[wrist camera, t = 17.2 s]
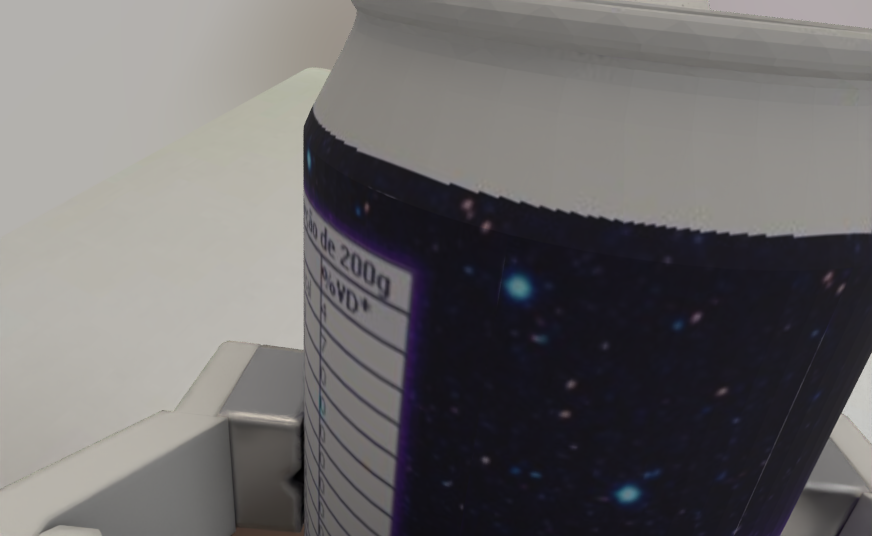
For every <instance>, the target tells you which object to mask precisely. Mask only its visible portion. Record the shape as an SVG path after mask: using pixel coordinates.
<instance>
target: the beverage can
mask: <svg viewBox="0 0 872 536" xmlns="http://www.w3.org/2000/svg"><path fill="white" fill-rule="evenodd" d="M351 1H352V3H353V4H354V6H355V8H356V9H357V16H356V19H355V22H354V26H353V28H352V30H351V32H350V35H349V37H348V39H347V41H346V43H345V46H344V48H343V50H342V52H341V53H340V55H339V57H338V59H337V61H336V63H335V65H334V67H333V69H332V71H331V72H330V74H329V76H328V78H327V80H326V82H325V84H324V86H323V88H322V90H321V91H320V93H319V95H318V97H317V99H316V101H315V103H314V105H313V107H312V109H311V111H310V113H309V115H308V118H307V120H306V123H305V125H304V536H780V535H781V533H782V531H783V529H784V527H785V525H786V523H787V521H788V519H789V517H790V515H791V513H792V511H793V509H794V507H795V505H796V503H797V501H798V499H799V497H800V495H801V493H802V491H803V489H804V487H805V485H806V483H807V481H808V479H809V477H810V475H811V473H812V471H813V469H814V467H815V465H816V463H817V461H818V459H819V457H820V455H821V453H822V451H823V449H824V447H825V445H826V443H827V441H828V439H829V437H830V435H831V433H832V431H833V429H834V427H835V425H836V423H837V421H838V419H839V417H840V415H841V413H842V411H843V409H844V407H845V405H846V403H847V401H848V399H849V397H850V395H851V393H852V391H853V389H854V387H855V385H856V383H857V381H858V379H859V377H860V375H861V373H862V371H863V369H864V367H865V365H866V363H867V361H868V359H869V357H870V355H871V353H872V29H869V28H860V27H852V26H844V25H835V24H827V23H818V22H809V21H801V20H793V19H783V18H775V17H767V16H758V15H749V14H740V13H731V12H722V11H714V10H713V11H712V10H705V9H696V8H687V7H678V6H668V5H659V4H650V3H641V2H632V1H623V0H351Z"/></svg>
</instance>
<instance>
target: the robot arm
mask: <svg viewBox="0 0 872 536" xmlns="http://www.w3.org/2000/svg"><path fill="white" fill-rule="evenodd" d="M303 524H304V350H299V349H292V348H285V347H277V346H270V345H260V344H255V343H246V342H238V341H227V342H224V343H222V344H221V345H220V346H219V348H218V349H217V351H216V352H215V353H214V355H213V356H212V358H211V359H210V360H209V362H208V363H207V365H206V366H205V368H204V369H203V370H202V372H201V373H200V375H199V376H198V377H197V379H196V380H195V382H194V383H193V384H192V386H191V387H190V389H189V390H188V392H187V393H186V394H185V396H184V397H183V399H182V400H181V401H180V403H179V404H178V406H177V407H176V408H175V410H174V411H165V410H162V411H160V412H158V413H156V414H154V415H152V416H150V417H147V418H145V419H143V420H141V421H139V422H137V423H135V424H133V425H131V426H129V427H127V428H125V429H123V430H121V431H119V432H117V433H115V434H112V435H110V436H108V437H106V438H104V439H102V440H100V441H98V442H96V443H94V444H92V445H90V446H88V447H86V448H84V449H82V450H80V451H77V452H75V453H73V454H71V455H69V456H67V457H65V458H63V459H61V460H59V461H57V462H55V463H53V464H51V465H49V466H47V467H45V468H42V469H40V470H38V471H36V472H34V473H32V474H30V475H28V476H26V477H24V478H22V479H20V480H18V481H16V482H14V483H12V484H10V485H7V486H5V487H3V488H1V489H0V536H231V535H232V534H233V533H234V532H236V527H239V528H250V529H261V530H271V531H282V532H293V533H301V530H302V527H303ZM780 536H872V444H871V443H870V442H869V441H868V440H867V439H866V437H865V436H864V435H863V434H862V433H861V432H860V430H859V429H858V428H857V427H856V426H855V425H854V423H853V422H852V421H851V420H850V419H849V417H848V416H846V415H844V414H842V413H841V415H840V417H839V419H838V421H837V423H836V425H835V427H834V429H833V431H832V433H831V435H830V437H829V439H828V441H827V443H826V445H825V447H824V449H823V451H822V453H821V455H820V457H819V459H818V461H817V463H816V465H815V467H814V469H813V471H812V473H811V475H810V477H809V479H808V481H807V483H806V485H805V487H804V489H803V491H802V493H801V495H800V497H799V499H798V501H797V503H796V505H795V507H794V509H793V511H792V513H791V515H790V517H789V519H788V521H787V523H786V525H785V527H784V529H783V531H782V533H781V535H780Z"/></svg>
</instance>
